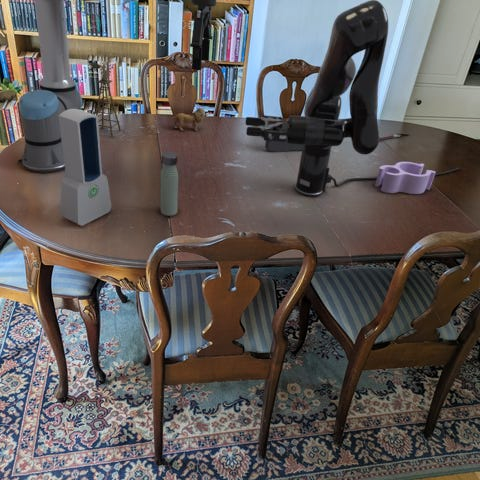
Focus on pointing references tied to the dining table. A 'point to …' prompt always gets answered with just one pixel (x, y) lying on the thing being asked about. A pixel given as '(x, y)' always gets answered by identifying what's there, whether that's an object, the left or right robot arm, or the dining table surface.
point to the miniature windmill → (105, 81)
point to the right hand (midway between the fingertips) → (246, 125)
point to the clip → (404, 178)
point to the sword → (391, 136)
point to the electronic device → (82, 168)
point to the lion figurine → (189, 118)
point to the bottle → (169, 190)
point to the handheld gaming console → (282, 146)
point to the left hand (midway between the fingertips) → (200, 65)
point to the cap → (169, 158)
